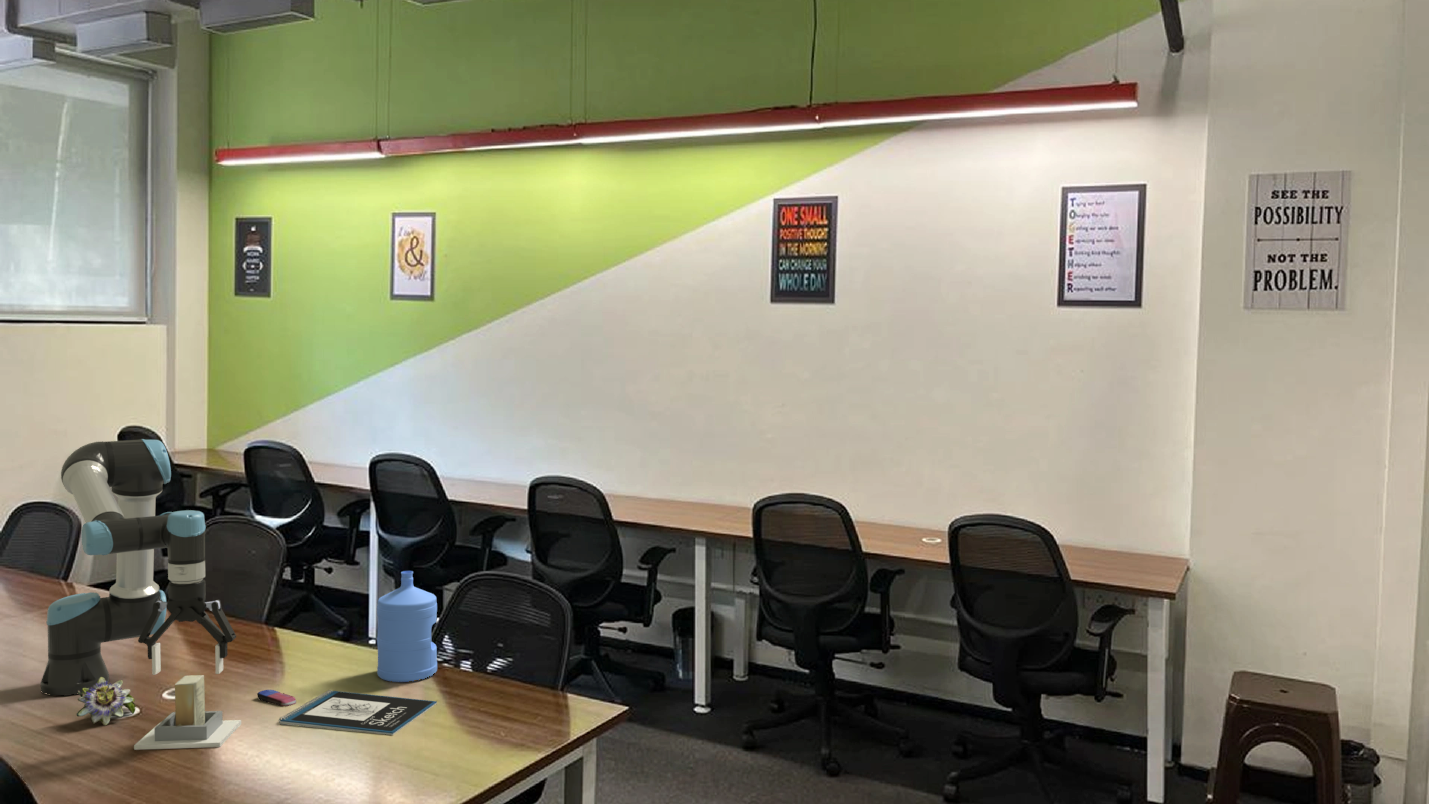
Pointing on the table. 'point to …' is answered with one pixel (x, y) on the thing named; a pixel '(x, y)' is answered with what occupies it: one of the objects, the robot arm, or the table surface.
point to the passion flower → (105, 701)
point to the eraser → (276, 698)
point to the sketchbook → (358, 712)
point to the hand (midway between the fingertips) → (188, 672)
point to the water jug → (406, 633)
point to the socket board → (189, 733)
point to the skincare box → (190, 701)
